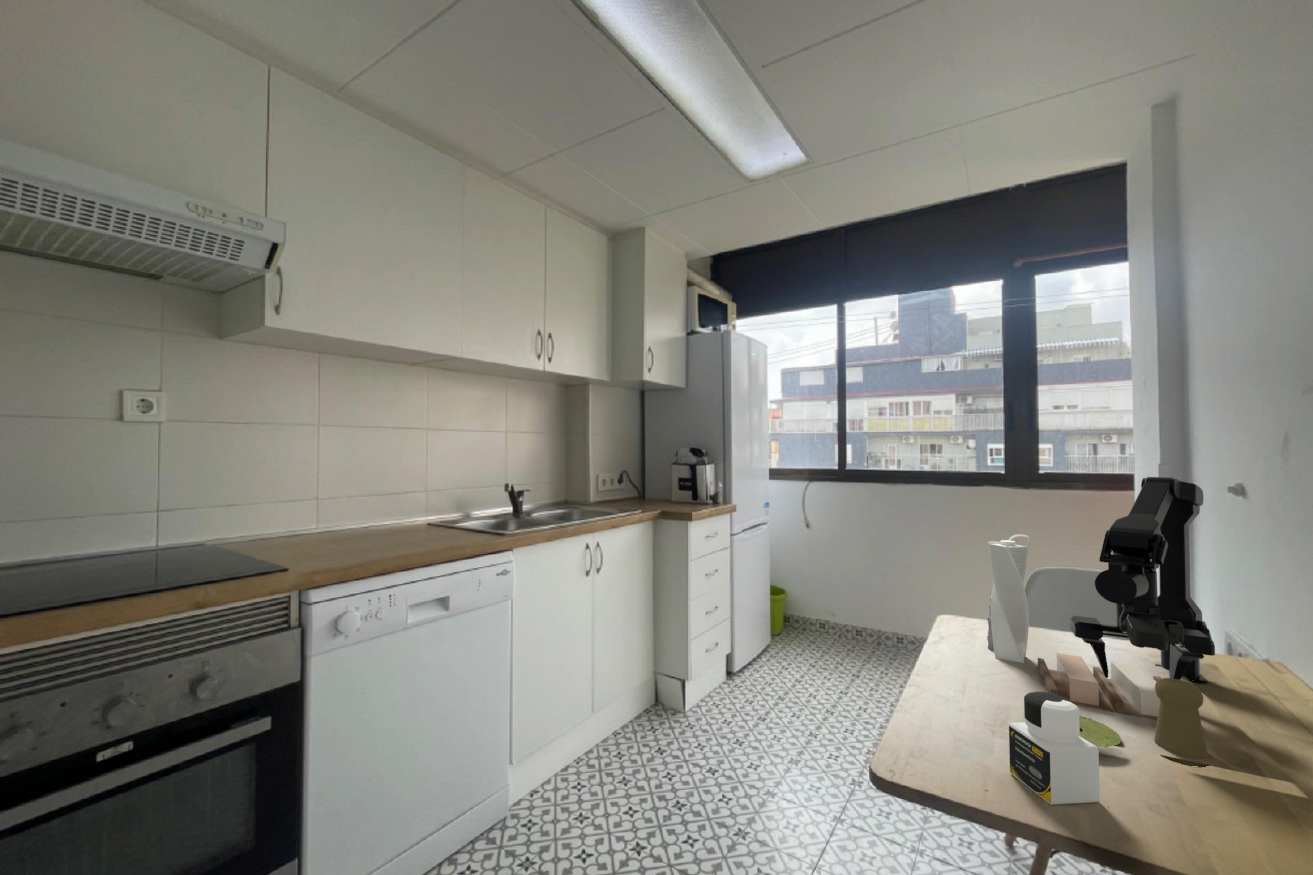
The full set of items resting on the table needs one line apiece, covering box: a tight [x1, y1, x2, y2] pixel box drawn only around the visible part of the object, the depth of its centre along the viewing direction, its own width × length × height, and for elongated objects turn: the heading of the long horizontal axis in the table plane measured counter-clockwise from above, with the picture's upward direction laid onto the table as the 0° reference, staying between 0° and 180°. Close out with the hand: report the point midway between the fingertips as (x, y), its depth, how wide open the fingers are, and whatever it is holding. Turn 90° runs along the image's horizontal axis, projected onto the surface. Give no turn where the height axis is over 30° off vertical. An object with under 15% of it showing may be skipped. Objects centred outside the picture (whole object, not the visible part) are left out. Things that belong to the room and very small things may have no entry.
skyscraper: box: [986, 534, 1031, 664], centre depth 116 cm, size 8×8×28 cm
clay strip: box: [1110, 661, 1160, 717], centre depth 95 cm, size 14×4×4 cm, turn 155°
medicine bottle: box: [1008, 691, 1101, 806], centre depth 72 cm, size 7×7×12 cm
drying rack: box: [1037, 657, 1163, 721], centre depth 98 cm, size 17×19×3 cm
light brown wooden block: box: [1056, 652, 1099, 706], centre depth 100 cm, size 14×4×4 cm, turn 151°
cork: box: [1153, 677, 1210, 768], centre depth 80 cm, size 6×6×11 cm
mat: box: [1079, 714, 1122, 748], centre depth 84 cm, size 11×11×2 cm
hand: (1138, 682), depth 95 cm, fingers open, 9 cm apart
